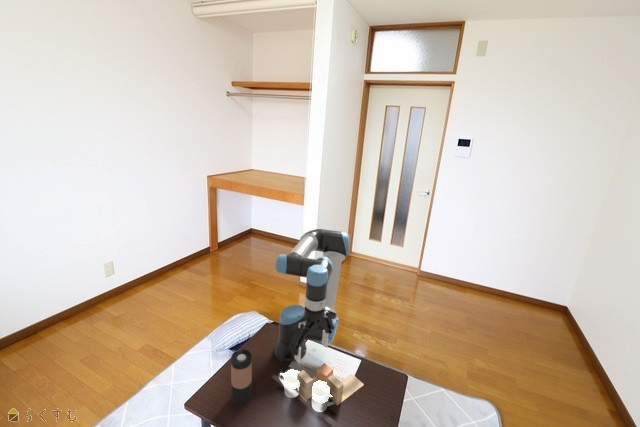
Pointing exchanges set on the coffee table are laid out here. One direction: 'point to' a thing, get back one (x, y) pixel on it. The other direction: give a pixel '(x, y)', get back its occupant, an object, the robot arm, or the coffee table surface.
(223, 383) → the coffee table surface
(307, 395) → the wooden slider
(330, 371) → the cube
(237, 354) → the travel mug
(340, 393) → the wooden l-shaped block
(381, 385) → the coffee table surface
